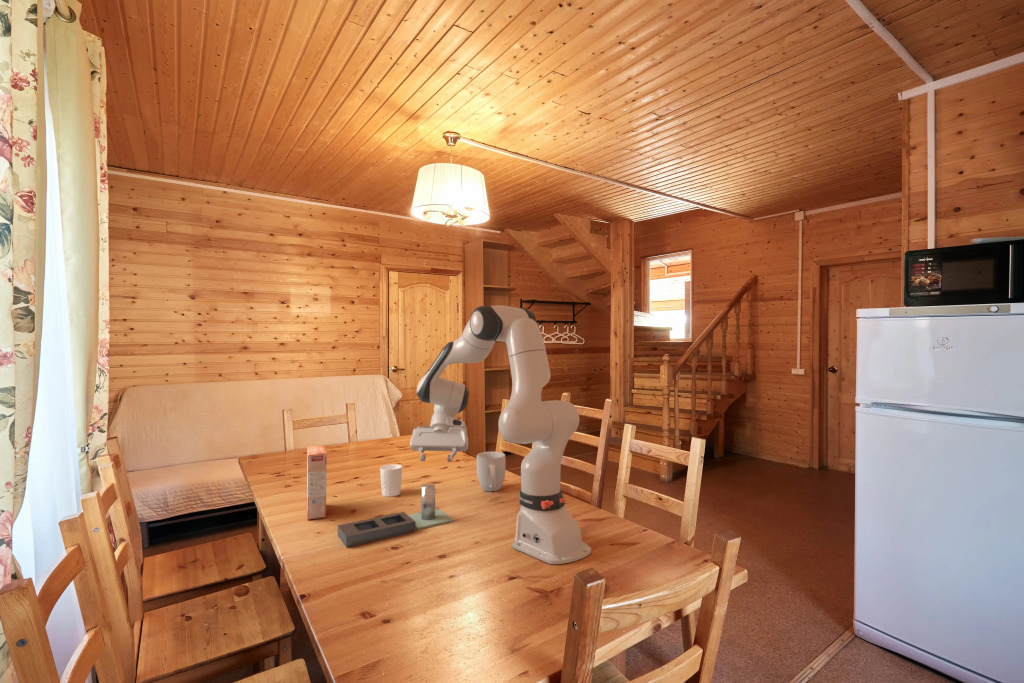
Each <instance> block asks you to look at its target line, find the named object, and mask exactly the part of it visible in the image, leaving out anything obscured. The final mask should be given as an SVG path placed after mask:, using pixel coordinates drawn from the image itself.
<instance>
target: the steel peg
mask: <svg viewBox="0 0 1024 683" xmlns="http://www.w3.org/2000/svg"><path fill="white" fill-rule="evenodd" d="M420 496H421V497H420V502H421V504H420V512H421V519H423V520H432V519H434V518H435V509H436V485H435V484H432V483H426V484H422V485H421V487H420Z"/></svg>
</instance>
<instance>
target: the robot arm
mask: <svg viewBox="0 0 1024 683" xmlns="http://www.w3.org/2000/svg"><path fill="white" fill-rule="evenodd" d="M496 342H502V343H503V342H504V343H505V344H506V349H507V354H508V360H509V361H508V362H509V367H510V368H509V369H510V375H511V382H512V383H511V384H512V385H511V394H510V397H509V398H510V399H509V400H508V402H507V405H506V407H504V409H503V410H502V411H501V413H500V415H499V418H498V431H499V434H500V435H501V438H503V439H504V440H505V442H507V443H509V444H515V445H517V444H518V445H527V444H533V445H532V448H531V449H530V452H529V453H528V454H526V456H525V457H524V458H523V459H522V461H521V465H520V490H519V496H518V499H519V504H520V508H519V510H518V514H517V516H516V525H515V537H514V538H515V539H514V540H513V542H511V543H512V544H511V548H513V549H514V550H517V551H520V552H522V553H524V554H526V555H528V556H530V557H531V556H532V557H533V558H535V559H537V560H540V561H542V562H545V563H547V564H550V565H562V564H567V563H569V564H570V563H572V562H576V561H579V560H581V559H584V558H585V557H587V556H590V554H592V547H590V545H588V544H587V543H586V542H584V541H583V536H582V535H583V534H582V530H581V527H580V524H579V522H578V520H576V519H574V518H573V516H572V515H571V513H570V512H569V510H568V509H567V508H566V506H565V505H566V502H567V500H566V499H567V496H566V497H564V495H563V492H562V489H561V467H562V460H563V456H564V452H565V449H566V447H567V444H568V442H569V440H570V438H571V437H572V435H573V434H574V433H575V432H576V431H577V429H578V428H579V425H580V414H579V411H578V408H577V407H576V405H574V404H573V403H572V402H569V401H567V400H566V401H564V400H560V399H559V400H558V399H553V400H543V401H542V391H543V388H544V387H545V386H546V385H548V383H549V382H550V380H551V377H552V376H551V375H552V374H551V369H550V364H549V360H548V354H547V351H546V350H547V349H546V344H545V342H544V338H543V335H542V332H541V330H540V328H539V325H538V322H537V318H536V315H535V313H534V312H533V311H532V310H530V309H529V308H528V309H527V308H524V307H514V306H509V305H501V304H500V305H481V306H478V307H475V308H474V309H473V310H472V313H471V314H470V318H469V319H468V321H467V323H466V325H465V327H464V329H463V331H462V333H461V334H460V336H459V337H458V338H456V340H454V341H449V342H447V343H446V344H445V346H444V347H443V348H442V349H441V351H440V352H439V353H438V355H437V357H436V358H435V359H434V361H433V363H432V364H431V366H430V367H429V369H428V370H427V371H426V372H425V374H424V375H423V376H422V377H421V379H419V381H418V384H417V386H416V393H415V394H416V396H417V397H418V399H419V400H420V401H421V402H422V403H427V404H432V405H433V414H432V415H431V420H430V424H429V425H430V426H429V425H426V426H422V425H418V426H417V427H415V428H413V430H412V435H411V438H410V441H409V447H410V448H411V450H412V451H415V452H419V456H420V458H419V459H420V462H426V458H427V457H426V454H424V452H451V453H450V454H448V455H447V462H449V463H450V462H451V463H452V462H453V459H454V457H455V456H456V455H457V454H458V452H466V451H467V450H468V449H469V437H468V428H467V425H466V422H465V421H464V420H460V419H458V418H456V416H457V415H458V414H460V413H461V412H463V411H464V410H465V409H466V408H467V407H468V406H467V405H468V401H469V396H470V391H469V389H468V387H467V385H466V384H464V383H460V382H457V381H455V380H449V379H446V378H443V377H441V375H442V374H443V372H444V371H445V369H446V368H447V367H448V366H451V365H455V364H456V365H457V364H476V363H480V362H482V361H484V360H485V359H486V358H487V357H488V356H489V354H490V353H491V351H492V349H493V348H494V345H495V343H496Z"/></svg>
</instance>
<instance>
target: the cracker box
mask: <svg viewBox="0 0 1024 683" xmlns="http://www.w3.org/2000/svg"><path fill="white" fill-rule="evenodd" d="M306 458H307V459H306V513H307V514H306V515H307V520H317V519H324V518H325V519H326V518H327V450H326V446H325V445H313V446H312V445H311V446H307V456H306Z"/></svg>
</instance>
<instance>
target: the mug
mask: <svg viewBox="0 0 1024 683" xmlns="http://www.w3.org/2000/svg"><path fill="white" fill-rule="evenodd" d="M506 463H507V462H506V454H505V453H504V452H500V451H483V452H480V453H478V454H476V473H477V474H476V475H477V480H478V484H479V485H480V487H481V489H482V490H483V491H484V492H488V493H489V492H492V491H494V492H497V491H500V490H501V488H502V487H503V485H504V481H505V478H506V469H507V468H506Z"/></svg>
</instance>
